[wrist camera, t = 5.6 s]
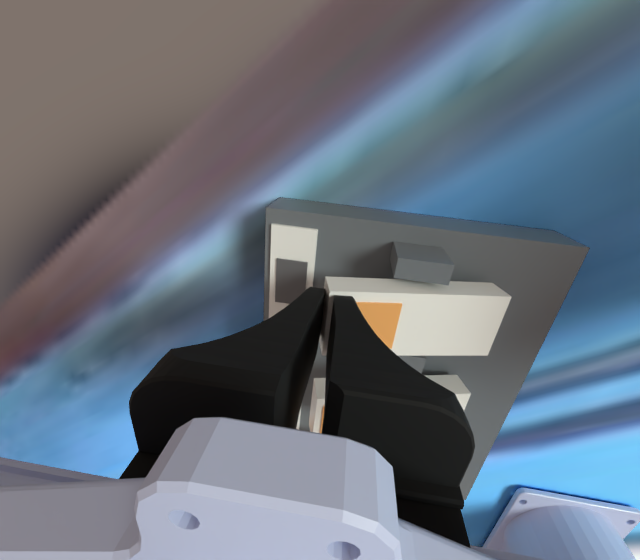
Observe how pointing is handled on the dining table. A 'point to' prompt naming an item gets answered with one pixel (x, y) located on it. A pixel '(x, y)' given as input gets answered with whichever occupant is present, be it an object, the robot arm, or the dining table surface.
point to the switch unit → (432, 267)
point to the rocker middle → (446, 381)
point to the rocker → (422, 314)
